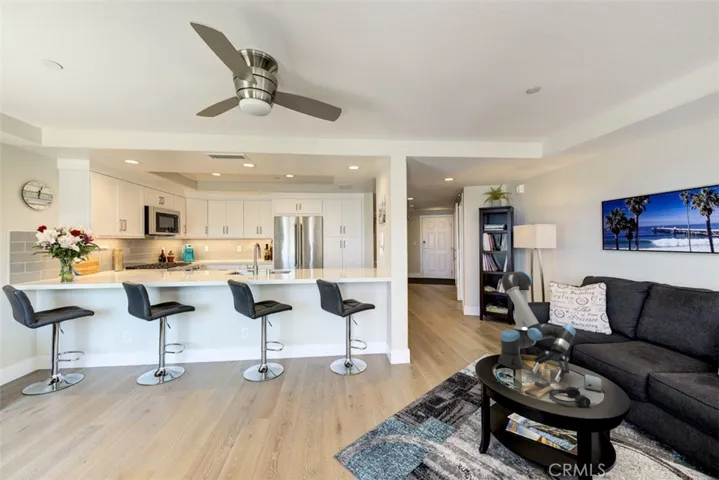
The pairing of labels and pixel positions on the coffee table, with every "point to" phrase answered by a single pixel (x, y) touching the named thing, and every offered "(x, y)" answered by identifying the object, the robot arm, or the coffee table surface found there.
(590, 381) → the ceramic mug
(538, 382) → the block
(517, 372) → the coffee table surface
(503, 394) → the coffee table surface
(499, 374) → the sunglasses
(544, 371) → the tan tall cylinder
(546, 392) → the plywood panel
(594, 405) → the coffee table surface
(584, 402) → the headset
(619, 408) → the coffee table surface
